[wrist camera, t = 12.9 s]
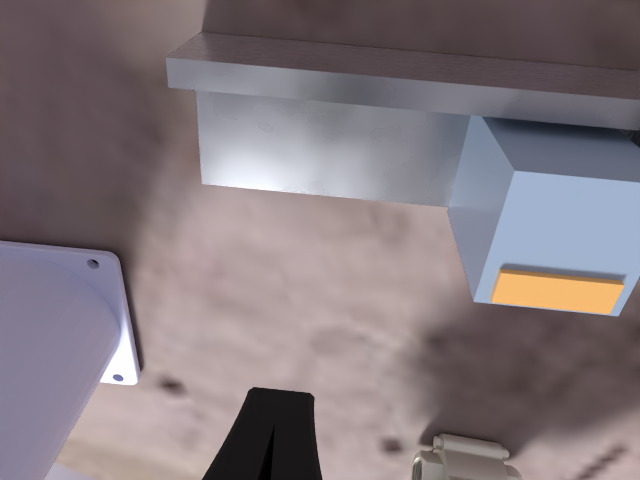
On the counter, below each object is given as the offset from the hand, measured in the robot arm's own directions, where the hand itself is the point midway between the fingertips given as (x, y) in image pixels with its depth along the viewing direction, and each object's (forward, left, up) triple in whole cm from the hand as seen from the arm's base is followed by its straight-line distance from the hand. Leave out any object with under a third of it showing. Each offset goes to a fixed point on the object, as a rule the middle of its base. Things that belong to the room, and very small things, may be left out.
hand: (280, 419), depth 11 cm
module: (+7, +3, -9) cm, 12 cm away
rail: (+5, +4, -10) cm, 12 cm away
